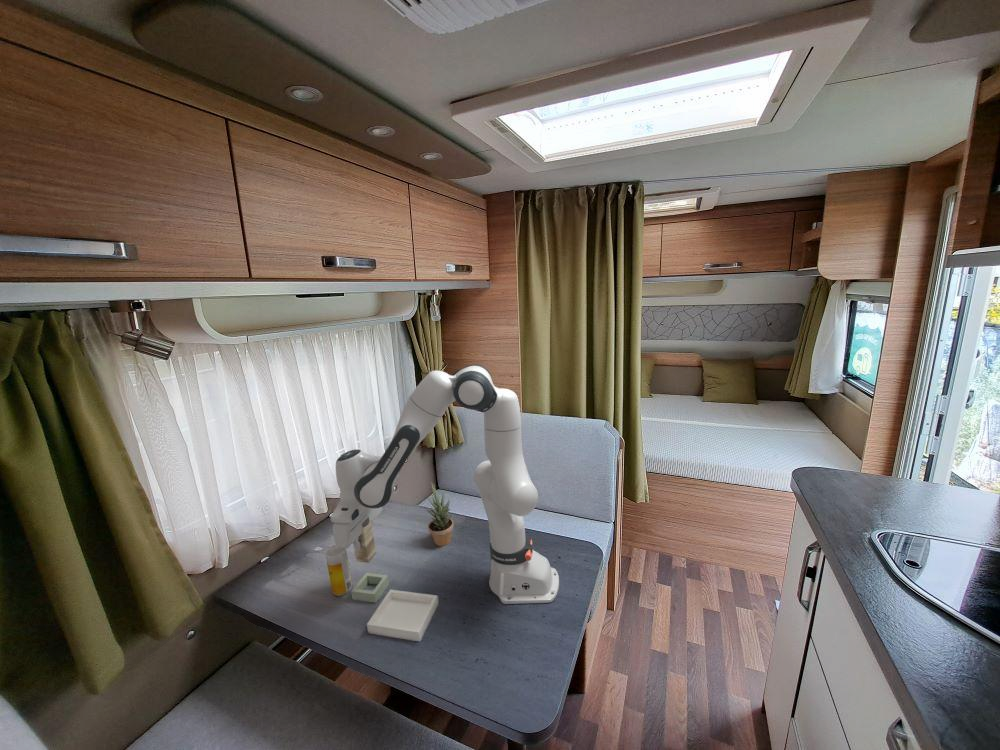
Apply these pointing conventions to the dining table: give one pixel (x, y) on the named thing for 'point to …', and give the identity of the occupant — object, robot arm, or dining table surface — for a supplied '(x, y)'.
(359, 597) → the socket block
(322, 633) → the dining table surface
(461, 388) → the robot arm
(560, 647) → the dining table surface
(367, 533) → the wooden pepper mill
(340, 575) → the orange pill bottle
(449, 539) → the potted plant
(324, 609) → the dining table surface
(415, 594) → the tray
